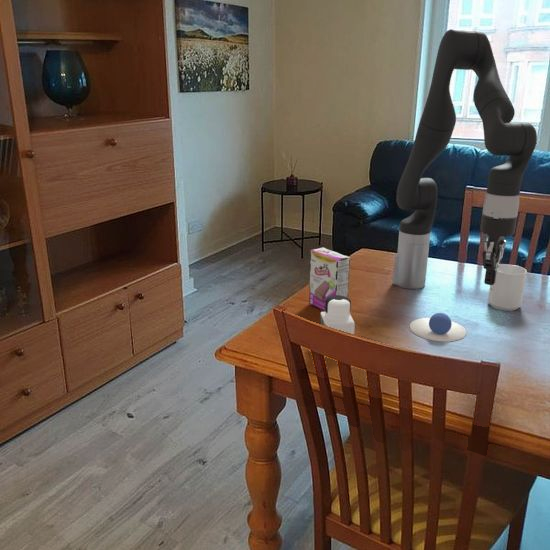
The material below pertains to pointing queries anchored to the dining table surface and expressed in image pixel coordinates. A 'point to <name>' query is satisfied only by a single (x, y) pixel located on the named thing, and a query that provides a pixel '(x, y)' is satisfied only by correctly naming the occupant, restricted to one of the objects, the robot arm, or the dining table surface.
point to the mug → (508, 287)
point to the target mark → (424, 331)
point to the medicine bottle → (338, 314)
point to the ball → (440, 323)
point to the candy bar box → (327, 276)
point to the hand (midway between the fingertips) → (489, 283)
